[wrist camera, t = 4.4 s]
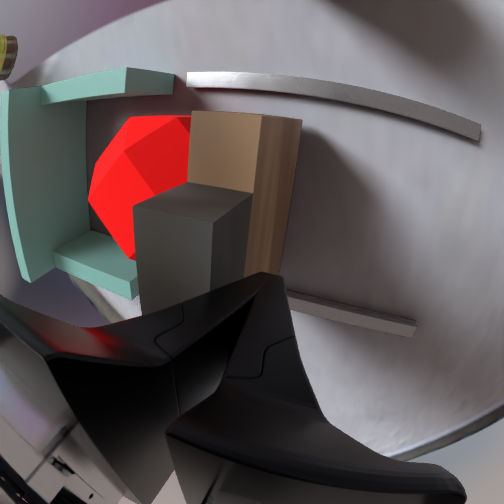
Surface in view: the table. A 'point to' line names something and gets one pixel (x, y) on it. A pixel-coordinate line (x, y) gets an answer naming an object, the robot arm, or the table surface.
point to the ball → (138, 171)
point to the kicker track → (354, 97)
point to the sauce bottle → (7, 55)
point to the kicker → (218, 209)
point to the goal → (63, 176)
